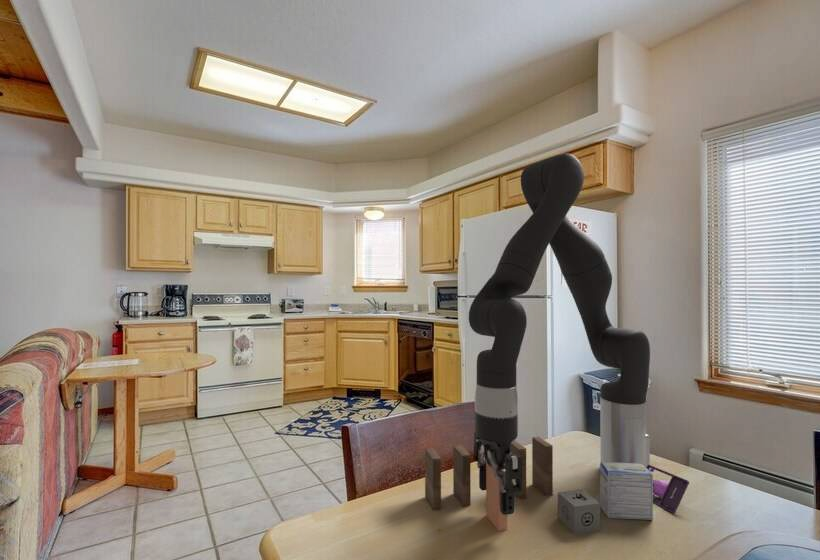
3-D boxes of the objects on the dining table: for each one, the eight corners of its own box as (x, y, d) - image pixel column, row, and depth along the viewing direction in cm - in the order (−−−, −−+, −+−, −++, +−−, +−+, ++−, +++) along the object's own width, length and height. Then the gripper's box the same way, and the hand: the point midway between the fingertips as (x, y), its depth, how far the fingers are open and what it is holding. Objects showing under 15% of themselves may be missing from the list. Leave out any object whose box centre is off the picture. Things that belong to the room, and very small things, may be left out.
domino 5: (538, 483, 89) (538, 436, 89) (552, 494, 84) (552, 445, 84) (532, 484, 89) (532, 437, 89) (545, 495, 84) (545, 446, 84)
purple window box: (670, 510, 77) (631, 490, 85) (688, 525, 78) (647, 504, 86) (686, 478, 79) (645, 462, 87) (702, 493, 80) (661, 475, 88)
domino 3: (494, 516, 76) (494, 461, 77) (507, 531, 72) (507, 473, 72) (486, 517, 76) (486, 462, 76) (498, 533, 71) (498, 474, 71)
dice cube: (600, 532, 72) (600, 503, 72) (574, 536, 71) (574, 506, 71) (581, 516, 77) (581, 489, 77) (557, 519, 75) (557, 492, 76)
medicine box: (642, 508, 79) (642, 462, 79) (653, 521, 75) (653, 473, 75) (599, 506, 80) (599, 461, 80) (608, 519, 76) (608, 471, 76)
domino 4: (513, 486, 87) (513, 439, 88) (526, 498, 83) (526, 448, 83) (506, 487, 87) (506, 440, 87) (519, 499, 82) (519, 449, 82)
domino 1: (432, 498, 83) (432, 447, 83) (441, 511, 78) (440, 458, 78) (425, 499, 82) (425, 448, 82) (432, 512, 78) (432, 459, 78)
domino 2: (460, 494, 84) (460, 445, 84) (470, 506, 80) (470, 454, 80) (453, 495, 84) (453, 445, 84) (462, 508, 79) (462, 455, 79)
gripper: (536, 420, 68) (536, 519, 68) (496, 397, 82) (496, 480, 82) (495, 424, 66) (494, 526, 66) (461, 400, 80) (460, 484, 80)
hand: (495, 500), depth 74 cm, fingers open, 8 cm apart
